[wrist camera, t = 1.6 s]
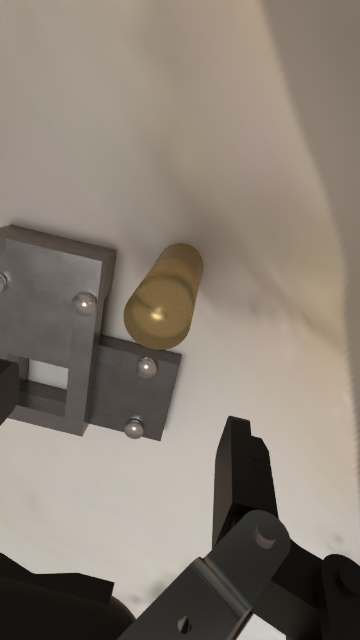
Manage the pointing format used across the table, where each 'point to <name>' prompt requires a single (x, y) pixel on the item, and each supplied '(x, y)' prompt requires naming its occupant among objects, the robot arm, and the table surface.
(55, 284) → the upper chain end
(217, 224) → the table surface
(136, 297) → the brass pin
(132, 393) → the lower chain end
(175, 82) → the table surface
